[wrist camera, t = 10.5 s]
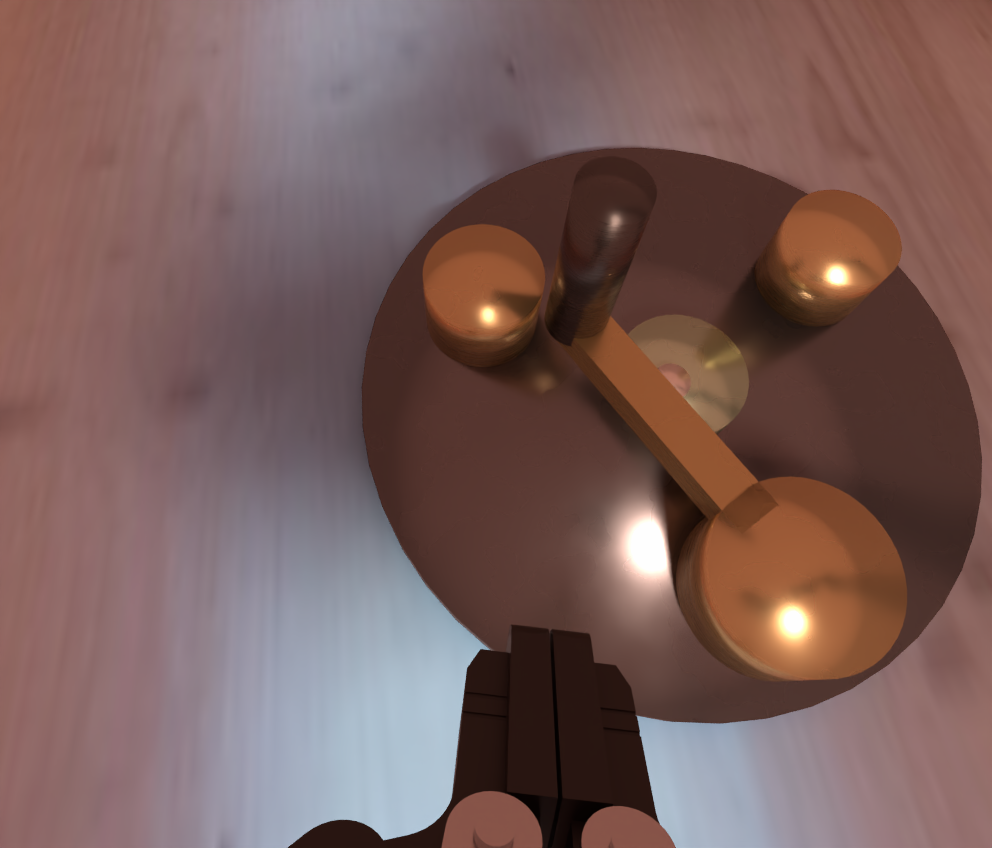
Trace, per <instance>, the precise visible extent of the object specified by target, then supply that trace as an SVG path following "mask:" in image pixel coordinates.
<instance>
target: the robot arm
mask: <svg viewBox="0 0 992 848" xmlns="http://www.w3.org/2000/svg"><path fill="white" fill-rule="evenodd" d="M288 848H676V847H675V845H674V843H673V841H672V839H671V838H670V836H669V835H668V833H667V832H666V831H665V829H664V828H663V827H662V826H661V825H660V824H659V821H658V818H657V815H656V811H655V806H654V801H653V796H652V791H651V786H650V781H649V776H648V771H647V766H646V760H645V755H644V750H643V745H642V740H641V737H640V730H639V725H638V720H637V716H636V710H635V705H634V700H633V695H632V689H631V686H630V685H629V684H628V682H627V681H626V679H625V678H624V676H623V675H622V673H621V672H620V670H619V669H618V668H617V666H616V665H611V664H603V663H594V657H593V649H592V642H591V636H590V634H589V633H582V632H574V631H566V630H557V629H551V630H550V633H549V629H547V628H539V627H531V626H522V625H514V624H511V625H510V629H509V635H508V642H507V648H506V652H500V651H491V650H483V649H480V651H479V652H478V654H477V655H476V656H475V658H474V659H473V661H472V662H471V664H470V665H469V666H468V668H467V674H466V682H465V690H464V698H463V706H462V714H461V721H460V729H459V738H458V747H457V757H456V765H455V775H454V784H453V793H452V799H451V801H450V804H449V806H448V807H447V809H446V811H445V812H444V813H443V814H442V816H441V817H440V818H439V819H438V820H437V821H436V822H434V823H433V824H432V825H430V826H429V827H427V828H426V829H424V830H421V831H419V832H417V833H414V834H410V835H407V836H402V837H397V838H393V839H388V840H384V841H383V839H382V838H381V837H380V836H379V834H378V833H377V832H375V831H374V830H373V829H372V828H370V827H369V826H367V825H365V824H363V823H360V822H357V821H352V820H336V821H330V822H327V823H324V824H321V825H319V826H317V827H315V828H313V829H311V830H310V831H309V832H307V833H306V834H304V835H303V836H302V837H301V838H299V839H298V840H297V841H295V842H294V843H293V844H292V845H290V846H289V847H288Z"/></svg>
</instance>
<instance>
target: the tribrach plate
mask: <svg viewBox="0 0 992 848" xmlns="http://www.w3.org/2000/svg"><path fill="white" fill-rule="evenodd" d="M606 156H616V157H622V158H626V159H629V160H632V161H634V162H636V163H638V164H639V165H641V166H642V167H643V168H644V169H646V170H647V171H648V173H649V174H650V175H651V176H652V178H653V180H654V182H655V184H656V188H657V198H656V202H655V205H654V207H653V210H652V212H651V215H650V217H649V220H648V222H647V225H646V228H645V230H644V233H643V235H642V238H641V240H640V243H639V245H638V248H637V250H636V253H635V255H634V258H633V260H632V263H631V265H630V268H629V270H628V273H627V275H626V278H625V280H624V283H623V286H622V288H621V291H620V293H619V296H618V298H617V301H616V303H615V306H614V308H613V311H612V313H611V317H612V318H613V319H614V320H615V321H616V322H617V324H618V325H619V326H620V327H621V328H622V329H623V330H624V331H625V333H626V334H627V335H628V336H629V337H630V338H631V339H632V340H633V342H634V343H635V344H636V345H637V346H638V347H639V348H640V349H641V351H642V352H643V353H644V354H645V355H646V356H647V357H648V358H649V359H650V361H651V362H652V363H653V364H654V365H655V366H656V367H657V368H658V370H659V371H660V372H661V373H662V374H663V375H664V376H665V377H666V379H667V380H668V381H669V382H670V383H671V384H672V385H673V386H674V387H675V389H676V390H677V391H678V392H679V393H680V394H681V395H682V396H683V398H684V399H685V400H686V401H687V402H688V403H689V404H690V405H691V407H692V408H693V409H694V410H695V411H696V412H697V413H698V414H699V416H700V417H701V418H702V419H703V420H704V421H705V422H706V423H707V424H708V426H709V427H710V428H711V429H712V430H713V431H714V432H715V433H716V435H717V436H718V437H719V438H720V439H721V440H722V441H723V442H724V444H725V445H726V446H727V447H728V448H729V449H730V450H731V451H732V452H733V454H734V455H735V456H736V457H737V458H738V459H739V460H740V461H741V463H742V464H743V465H744V466H745V467H746V468H747V469H748V470H749V472H750V473H751V474H752V475H753V476H754V477H755V478H756V479H757V481H758V482H760V481H763V480H767V479H771V478H777V477H803V478H808V479H813V480H817V481H820V482H823V483H826V484H829V485H831V486H833V487H835V488H837V489H840V490H842V491H843V492H845V493H846V494H848V495H850V496H851V497H853V498H854V499H855V500H857V501H858V502H859V503H861V504H862V505H863V506H864V507H865V508H866V509H867V510H868V511H869V512H871V513H872V514H873V515H874V517H875V518H876V519H877V520H878V521H879V522H880V524H881V525H882V526H883V528H884V529H885V531H886V532H887V533H888V535H889V536H890V538H891V540H892V542H893V544H894V546H895V548H896V549H897V552H898V554H899V557H900V559H901V562H902V566H903V569H904V573H905V578H906V585H907V607H906V615H905V619H904V623H903V626H902V629H901V631H900V633H899V636H898V638H897V640H896V641H895V643H894V644H893V646H892V647H891V649H890V650H889V651H888V652H887V653H886V655H885V656H884V657H883V658H882V659H881V660H879V661H878V662H877V663H876V664H874V665H873V666H871V667H870V668H868V669H866V670H864V671H863V672H860V673H858V674H855V675H852V676H849V677H844V678H839V679H824V680H801V681H778V682H773V681H762V680H758V679H754V678H750V677H747V676H745V675H742V674H740V673H737V672H736V671H734V670H732V669H730V668H728V667H727V666H725V665H724V664H722V663H721V662H719V661H718V660H717V659H716V658H714V657H713V656H712V655H711V654H710V653H709V652H708V651H707V650H706V649H705V648H704V647H703V646H702V645H701V643H700V642H699V641H698V640H697V638H696V637H695V635H694V634H693V633H692V631H691V629H690V627H689V625H688V624H687V622H686V620H685V617H684V615H683V612H682V610H681V606H680V603H679V599H678V593H677V586H676V572H677V563H678V559H679V555H680V552H681V549H682V547H683V544H684V542H685V540H686V539H687V537H688V535H689V534H690V532H691V531H692V530H693V529H694V527H695V526H696V525H697V524H698V523H699V522H700V521H702V520H703V519H704V518H705V517H706V516H705V515H704V514H703V513H702V512H701V510H700V509H699V508H698V507H697V506H696V504H695V503H694V502H693V501H692V500H691V499H690V497H689V496H688V495H687V494H686V493H685V492H684V490H683V489H682V488H681V487H680V486H679V484H678V483H677V482H676V481H675V480H674V479H673V477H672V476H671V475H670V474H669V473H668V472H667V470H666V469H665V468H664V467H663V466H662V464H661V463H660V462H659V461H658V460H657V459H656V457H655V456H654V455H653V454H652V453H651V451H650V450H649V449H648V448H647V447H646V446H645V444H644V443H643V442H642V441H641V440H640V439H639V437H638V436H637V435H636V434H635V433H634V431H633V430H632V429H631V428H630V427H629V426H628V424H627V423H626V422H625V421H624V420H623V419H622V417H621V416H620V415H619V414H618V413H617V411H616V410H615V409H614V408H613V407H612V406H611V404H610V403H609V402H608V401H607V400H606V398H605V397H604V396H603V395H602V394H601V393H600V391H599V390H598V389H597V388H596V387H595V386H594V384H593V383H592V382H591V381H590V380H589V378H588V377H587V376H586V375H585V374H584V373H583V371H582V370H581V369H580V368H579V367H578V366H577V364H576V363H575V362H574V361H573V360H572V358H571V357H570V356H569V355H568V354H567V353H566V351H565V350H564V349H563V348H562V347H561V345H560V344H559V343H558V342H557V341H556V340H555V339H554V338H553V337H552V336H551V335H550V333H549V332H548V330H547V328H546V326H545V322H544V315H545V310H546V306H547V301H548V297H549V292H550V288H551V283H552V279H553V274H554V270H555V265H556V261H557V256H558V252H559V247H560V243H561V238H562V233H563V229H564V224H565V220H566V215H567V211H568V206H569V202H570V197H571V193H572V188H573V184H574V179H575V176H576V174H577V172H578V171H579V170H580V168H581V167H582V166H583V165H585V164H586V163H587V162H589V161H591V160H593V159H596V158H600V157H606ZM901 251H902V246H901V239H900V236H899V233H898V230H897V228H896V227H895V225H894V223H893V222H892V220H891V219H890V218H889V217H888V215H887V214H886V213H885V212H884V211H883V210H881V209H880V208H879V207H878V206H877V205H875V204H874V203H872V202H871V201H869V200H867V199H865V198H863V197H861V196H859V195H856V194H853V193H850V192H846V191H840V190H822V191H817V192H813V193H811V194H807V193H805V192H803V191H801V190H799V189H797V188H795V187H793V186H791V185H788V184H786V183H784V182H782V181H780V180H778V179H776V178H774V177H772V176H769V175H766V174H764V173H761V172H758V171H756V170H753V169H750V168H748V167H745V166H743V165H739V164H736V163H732V162H728V161H725V160H721V159H717V158H713V157H710V156H705V155H699V154H693V153H687V152H681V151H675V150H663V149H648V148H625V149H604V150H597V151H590V152H583V153H576V154H570V155H567V156H563V157H559V158H555V159H551V160H547V161H543V162H540V163H537V164H535V165H532V166H529V167H527V168H524V169H521V170H519V171H516V172H514V173H511V174H509V175H507V176H505V177H503V178H501V179H499V180H497V181H496V182H494V183H492V184H490V185H488V186H486V187H484V188H482V189H480V190H479V191H478V192H476V193H475V194H473V195H472V196H470V197H469V198H468V199H466V200H465V201H463V202H462V203H460V204H459V205H458V206H456V207H455V208H453V209H452V210H451V211H450V212H449V213H448V214H447V215H446V216H445V217H443V218H442V219H441V220H440V221H439V222H438V223H437V224H436V225H435V226H434V227H433V228H431V229H430V230H429V231H428V233H427V234H426V235H425V236H424V237H423V239H422V240H421V241H420V242H419V243H418V245H417V246H416V247H415V248H414V249H413V251H412V252H411V253H410V254H409V255H408V257H407V258H406V260H405V261H404V263H403V265H402V266H401V268H400V270H399V271H398V273H397V274H396V276H395V278H394V279H393V281H392V282H391V284H390V286H389V288H388V290H387V293H386V295H385V297H384V299H383V302H382V304H381V306H380V309H379V311H378V313H377V315H376V318H375V322H374V326H373V329H372V333H371V336H370V340H369V344H368V347H367V351H366V359H365V367H364V375H363V383H362V416H363V431H364V437H365V443H366V449H367V455H368V461H369V466H370V469H371V472H372V476H373V479H374V482H375V485H376V488H377V491H378V494H379V498H380V501H381V504H382V507H383V509H384V511H385V514H386V516H387V518H388V520H389V522H390V524H391V526H392V528H393V530H394V533H395V535H396V537H397V539H398V541H399V543H400V545H401V547H402V549H403V551H404V553H405V554H406V556H407V557H408V559H409V560H410V562H411V563H412V565H413V566H414V568H415V569H416V571H417V572H418V574H419V575H420V577H421V578H422V580H423V581H424V583H425V584H426V586H427V587H428V588H429V589H430V591H431V592H432V593H433V594H434V595H435V596H436V597H437V599H438V600H439V601H440V602H441V603H442V604H443V606H444V607H445V608H446V609H447V610H448V611H449V612H450V614H451V615H452V616H453V617H454V618H455V619H456V620H457V621H458V622H459V623H460V624H461V625H462V626H463V627H465V628H466V629H467V630H468V631H469V632H470V633H471V634H473V635H474V636H475V637H476V638H477V639H478V640H479V641H481V642H482V643H483V644H484V645H485V646H486V647H487V648H489V649H490V650H491V651H500V652H506V648H507V642H508V635H509V629H510V625H511V624H514V625H522V626H531V627H539V628H547V629H549V633H550V630H551V629H557V630H566V631H574V632H582V633H589V634H590V636H591V642H592V649H593V657H594V663H603V664H611V665H616V666H617V668H618V669H619V670H620V672H621V673H622V675H623V676H624V678H625V679H626V681H627V682H628V684H629V685H630V686H631V689H632V695H633V700H634V705H635V710H636V716H642V717H647V718H652V719H658V720H663V721H671V722H696V723H729V722H738V721H748V720H757V719H766V718H770V717H774V716H778V715H782V714H786V713H789V712H793V711H797V710H801V709H804V708H808V707H812V706H814V705H816V704H818V703H821V702H823V701H825V700H827V699H830V698H832V697H834V696H836V695H839V694H841V693H843V692H846V691H848V690H850V689H852V688H854V687H855V686H857V685H858V684H860V683H861V682H863V681H864V680H866V679H867V678H869V677H870V676H872V675H874V674H875V673H877V672H878V671H880V670H881V669H883V668H884V667H886V666H887V665H888V664H890V663H891V662H892V661H893V660H894V659H895V658H896V657H897V656H898V655H899V654H900V653H901V652H903V651H904V650H905V649H906V648H907V647H908V646H909V645H910V644H911V643H912V642H913V641H914V640H916V639H917V638H918V637H919V635H920V634H921V633H922V631H923V630H924V629H925V628H926V626H927V625H928V624H929V622H930V621H931V620H932V619H933V617H934V616H935V615H936V613H937V612H938V611H939V610H940V608H941V607H942V606H943V604H944V602H945V600H946V598H947V597H948V595H949V593H950V591H951V589H952V587H953V585H954V584H955V582H956V580H957V578H958V576H959V574H960V572H961V571H962V568H963V565H964V562H965V559H966V556H967V553H968V550H969V547H970V545H971V542H972V539H973V536H974V532H975V526H976V521H977V515H978V510H979V504H980V498H981V472H982V455H981V447H980V438H979V429H978V421H977V417H976V413H975V409H974V405H973V401H972V397H971V393H970V389H969V385H968V383H967V380H966V377H965V375H964V372H963V370H962V367H961V365H960V362H959V360H958V357H957V354H956V352H955V350H954V348H953V346H952V344H951V342H950V340H949V338H948V337H947V335H946V333H945V331H944V329H943V327H942V325H941V323H940V322H939V320H938V318H937V316H936V315H935V313H934V312H933V311H932V309H931V308H930V306H929V305H928V303H927V302H926V300H925V299H924V298H923V296H922V295H921V293H920V292H919V290H918V289H917V287H916V286H915V285H914V284H913V283H912V282H911V280H910V279H909V278H908V277H907V276H906V275H905V273H904V272H903V271H902V270H901V269H900V268H899V267H898V263H899V261H900V257H901Z"/></svg>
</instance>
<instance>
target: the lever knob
mask: <svg viewBox="0 0 992 848" xmlns="http://www.w3.org/2000/svg"><path fill="white" fill-rule="evenodd" d="M656 198H657V188H656V184H655V182H654V180H653V178H652V176H651V175H650V174H649V173H648V171H647V170H646V169H644V168H643V167H642V166H641V165H639V164H638V163H636V162H634V161H632V160H629V159H626V158H622V157H616V156H606V157H600V158H596V159H593V160H591V161H589V162H587V163H586V164H585V165H583V166H582V167H581V168H580V170H579V171H578V172H577V174H576V176H575V179H574V184H573V188H572V193H571V197H570V202H569V206H568V211H567V215H566V220H565V224H564V229H563V233H562V238H561V243H560V247H559V252H558V256H557V261H556V265H555V270H554V274H553V279H552V283H551V288H550V292H549V297H548V301H547V306H546V310H545V315H544V322H545V326H546V328H547V330H548V332H549V333H550V335H551V336H552V337H553V338H554V339H555V340H556V341H557V342H558V343H559V344H560V345H561V347H562V348H563V349H564V350H565V351H566V353H567V354H568V355H569V356H570V357H571V358H572V360H573V361H574V362H575V363H576V364H577V366H578V367H579V368H580V369H581V370H582V371H583V373H584V374H585V375H586V376H587V377H588V378H589V380H590V381H591V382H592V383H593V384H594V386H595V387H596V388H597V389H598V390H599V391H600V393H601V394H602V395H603V396H604V397H605V398H606V400H607V401H608V402H609V403H610V404H611V406H612V407H613V408H614V409H615V410H616V411H617V413H618V414H619V415H620V416H621V417H622V419H623V420H624V421H625V422H626V423H627V424H628V426H629V427H630V428H631V429H632V430H633V431H634V433H635V434H636V435H637V436H638V437H639V439H640V440H641V441H642V442H643V443H644V444H645V446H646V447H647V448H648V449H649V450H650V451H651V453H652V454H653V455H654V456H655V457H656V459H657V460H658V461H659V462H660V463H661V464H662V466H663V467H664V468H665V469H666V470H667V472H668V473H669V474H670V475H671V476H672V477H673V479H674V480H675V481H676V482H677V483H678V484H679V486H680V487H681V488H682V489H683V490H684V492H685V493H686V494H687V495H688V496H689V497H690V499H691V500H692V501H693V502H694V503H695V504H696V506H697V507H698V508H699V509H700V510H701V512H702V513H703V514H704V515H705V516H706V517H705V518H704V519H703V520H702V521H700V522H699V523H698V524H697V525H696V526H695V527H694V529H693V530H692V531H691V532H690V534H689V535H688V537H687V539H686V540H685V542H684V544H683V547H682V549H681V552H680V555H679V559H678V563H677V572H676V586H677V593H678V599H679V603H680V606H681V610H682V612H683V615H684V617H685V620H686V622H687V624H688V625H689V627H690V629H691V631H692V633H693V634H694V635H695V637H696V638H697V640H698V641H699V642H700V643H701V645H702V646H703V647H704V648H705V649H706V650H707V651H708V652H709V653H710V654H711V655H712V656H713V657H714V658H716V659H717V660H718V661H719V662H721V663H722V664H724V665H725V666H727V667H728V668H730V669H732V670H734V671H736V672H737V673H740V674H742V675H745V676H747V677H750V678H754V679H758V680H762V681H773V682H778V681H801V680H824V679H839V678H844V677H849V676H852V675H855V674H858V673H860V672H863V671H864V670H866V669H868V668H870V667H871V666H873V665H874V664H876V663H877V662H878V661H879V660H881V659H882V658H883V657H884V656H885V655H886V653H887V652H888V651H889V650H890V649H891V647H892V646H893V644H894V643H895V641H896V640H897V638H898V636H899V633H900V631H901V629H902V626H903V623H904V619H905V615H906V607H907V585H906V578H905V573H904V569H903V566H902V562H901V559H900V557H899V554H898V552H897V549H896V548H895V546H894V544H893V542H892V540H891V538H890V536H889V535H888V533H887V532H886V531H885V529H884V528H883V526H882V525H881V524H880V522H879V521H878V520H877V519H876V518H875V517H874V515H873V514H872V513H871V512H869V511H868V510H867V509H866V508H865V507H864V506H863V505H862V504H861V503H859V502H858V501H857V500H855V499H854V498H853V497H851V496H850V495H848V494H846V493H845V492H843V491H842V490H840V489H837V488H835V487H833V486H831V485H829V484H826V483H823V482H820V481H817V480H813V479H808V478H803V477H777V478H771V479H767V480H763V481H760V482H758V481H757V479H756V478H755V477H754V476H753V475H752V474H751V473H750V472H749V470H748V469H747V468H746V467H745V466H744V465H743V464H742V463H741V461H740V460H739V459H738V458H737V457H736V456H735V455H734V454H733V452H732V451H731V450H730V449H729V448H728V447H727V446H726V445H725V444H724V442H723V441H722V440H721V439H720V438H719V437H718V436H717V435H716V433H715V432H714V431H713V430H712V429H711V428H710V427H709V426H708V424H707V423H706V422H705V421H704V420H703V419H702V418H701V417H700V416H699V414H698V413H697V412H696V411H695V410H694V409H693V408H692V407H691V405H690V404H689V403H688V402H687V401H686V400H685V399H684V398H683V396H682V395H681V394H680V393H679V392H678V391H677V390H676V389H675V387H674V386H673V385H672V384H671V383H670V382H669V381H668V380H667V379H666V377H665V376H664V375H663V374H662V373H661V372H660V371H659V370H658V368H657V367H656V366H655V365H654V364H653V363H652V362H651V361H650V359H649V358H648V357H647V356H646V355H645V354H644V353H643V352H642V351H641V349H640V348H639V347H638V346H637V345H636V344H635V343H634V342H633V340H632V339H631V338H630V337H629V336H628V335H627V334H626V333H625V331H624V330H623V329H622V328H621V327H620V326H619V325H618V324H617V322H616V321H615V320H614V319H613V318H612V317H611V313H612V311H613V308H614V306H615V303H616V301H617V298H618V296H619V293H620V291H621V288H622V286H623V283H624V280H625V278H626V275H627V273H628V270H629V268H630V265H631V263H632V260H633V258H634V255H635V253H636V250H637V248H638V245H639V243H640V240H641V238H642V235H643V233H644V230H645V228H646V225H647V222H648V220H649V217H650V215H651V212H652V210H653V207H654V205H655V202H656Z"/></svg>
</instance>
